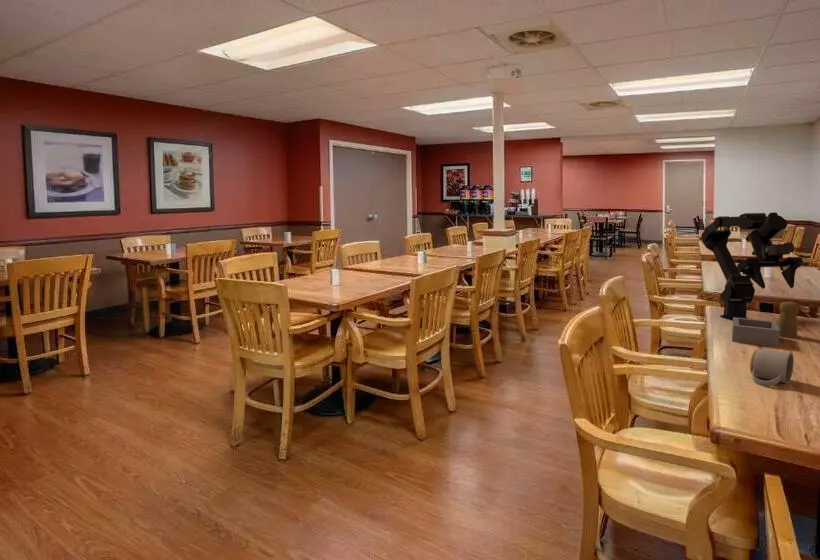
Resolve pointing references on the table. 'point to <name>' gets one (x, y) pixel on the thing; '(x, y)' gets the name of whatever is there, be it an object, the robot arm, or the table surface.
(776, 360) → the ceramic mug
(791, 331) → the cork
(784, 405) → the table surface
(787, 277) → the robot arm
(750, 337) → the holder block
